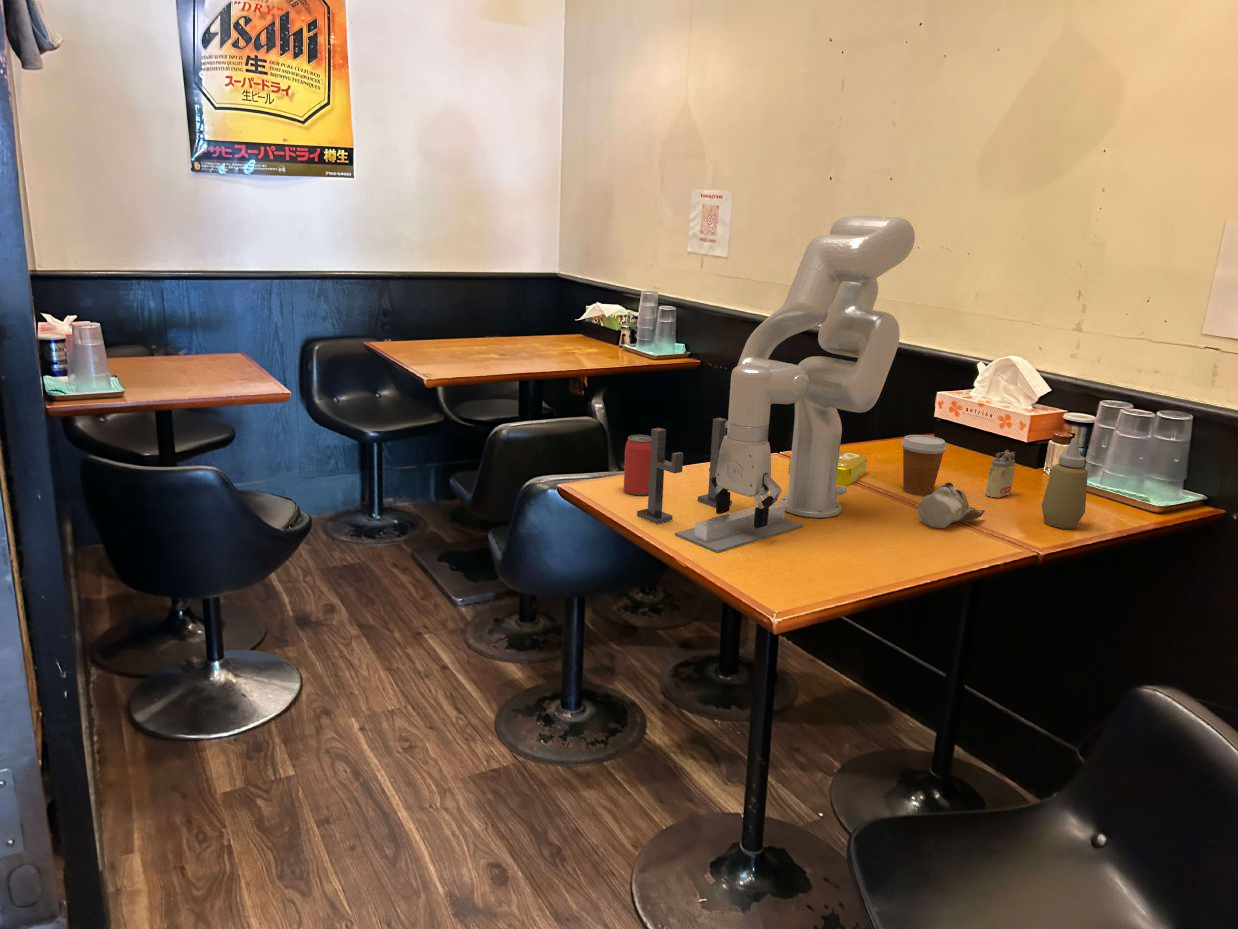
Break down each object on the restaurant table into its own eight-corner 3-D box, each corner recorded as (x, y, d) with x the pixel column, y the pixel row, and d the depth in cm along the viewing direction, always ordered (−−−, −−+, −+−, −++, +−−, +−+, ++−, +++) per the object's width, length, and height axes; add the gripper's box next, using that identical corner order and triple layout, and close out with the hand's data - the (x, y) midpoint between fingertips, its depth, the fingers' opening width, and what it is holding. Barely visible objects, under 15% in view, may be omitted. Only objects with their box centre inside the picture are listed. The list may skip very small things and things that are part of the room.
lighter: (997, 499, 195) (1004, 456, 192) (981, 495, 198) (987, 452, 195) (1013, 494, 200) (1020, 451, 197) (997, 490, 202) (1004, 447, 200)
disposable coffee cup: (893, 493, 197) (900, 441, 194) (897, 482, 205) (904, 432, 202) (939, 500, 193) (946, 446, 190) (941, 488, 202) (948, 437, 199)
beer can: (651, 497, 188) (653, 442, 185) (620, 494, 189) (622, 440, 186) (656, 488, 194) (658, 435, 191) (626, 485, 195) (628, 433, 192)
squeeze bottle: (1064, 533, 175) (1080, 445, 170) (1029, 521, 182) (1044, 435, 177) (1091, 528, 178) (1107, 441, 173) (1055, 516, 185) (1070, 432, 180)
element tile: (808, 462, 221) (810, 444, 220) (867, 473, 213) (869, 454, 212) (785, 476, 209) (787, 456, 207) (847, 487, 201) (849, 467, 200)
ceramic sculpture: (908, 480, 176) (943, 472, 186) (901, 522, 178) (936, 511, 188) (959, 494, 168) (992, 484, 179) (951, 537, 170) (985, 525, 181)
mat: (759, 512, 181) (760, 509, 181) (802, 527, 173) (802, 524, 173) (674, 535, 166) (674, 532, 166) (717, 553, 158) (717, 550, 158)
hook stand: (710, 497, 189) (716, 415, 184) (742, 508, 183) (748, 423, 178) (636, 515, 176) (640, 427, 171) (667, 528, 169) (672, 437, 165)
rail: (772, 515, 177) (773, 501, 177) (784, 520, 175) (785, 505, 174) (694, 537, 163) (695, 522, 163) (706, 542, 161) (707, 527, 160)
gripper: (700, 425, 168) (695, 511, 173) (770, 445, 156) (762, 536, 160) (727, 421, 173) (721, 504, 178) (797, 439, 160) (789, 528, 165)
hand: (741, 519), depth 169 cm, fingers open, 9 cm apart
